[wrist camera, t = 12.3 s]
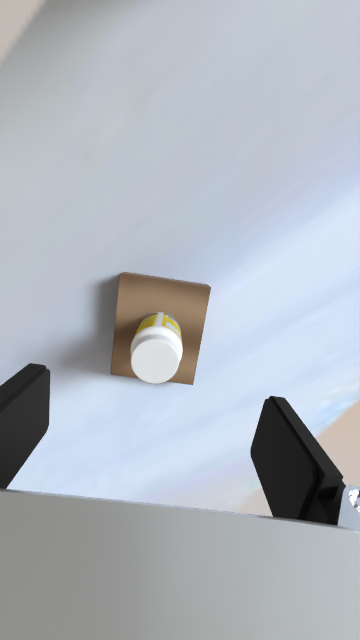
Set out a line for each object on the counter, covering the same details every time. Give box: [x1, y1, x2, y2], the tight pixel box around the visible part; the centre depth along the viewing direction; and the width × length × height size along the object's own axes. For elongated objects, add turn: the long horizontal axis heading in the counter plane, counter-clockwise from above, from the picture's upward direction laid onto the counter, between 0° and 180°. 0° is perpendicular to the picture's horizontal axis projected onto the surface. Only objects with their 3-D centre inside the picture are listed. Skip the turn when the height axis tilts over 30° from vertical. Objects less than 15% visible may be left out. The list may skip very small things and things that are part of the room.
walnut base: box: [111, 272, 211, 385], centre depth 30 cm, size 12×10×3 cm
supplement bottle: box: [131, 312, 183, 384], centre depth 24 cm, size 5×5×8 cm
